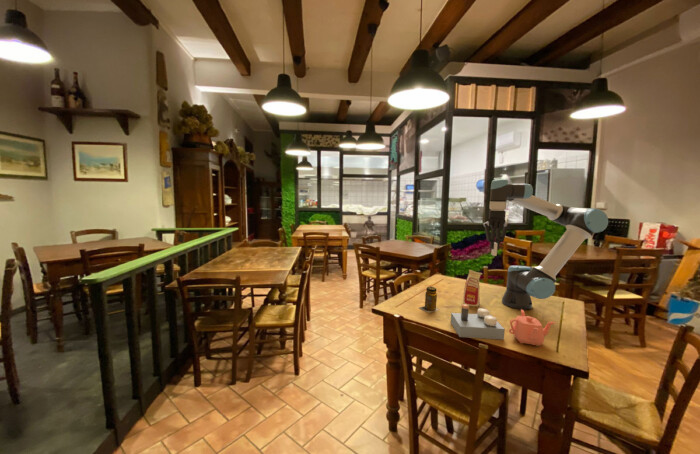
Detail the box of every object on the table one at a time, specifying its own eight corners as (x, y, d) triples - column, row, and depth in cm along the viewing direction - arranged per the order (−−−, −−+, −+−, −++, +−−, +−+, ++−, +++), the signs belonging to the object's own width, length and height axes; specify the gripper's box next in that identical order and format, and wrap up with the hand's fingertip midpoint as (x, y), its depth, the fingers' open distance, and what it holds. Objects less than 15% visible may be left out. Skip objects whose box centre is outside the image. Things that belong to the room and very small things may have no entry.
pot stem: (466, 318, 129) (467, 304, 128) (469, 321, 125) (470, 307, 124) (459, 317, 129) (460, 303, 128) (461, 321, 126) (462, 306, 125)
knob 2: (492, 331, 125) (493, 315, 124) (497, 337, 120) (498, 320, 119) (481, 330, 126) (482, 315, 125) (485, 336, 121) (487, 320, 120)
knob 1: (485, 323, 133) (486, 308, 132) (489, 328, 128) (491, 313, 127) (474, 322, 134) (476, 308, 133) (478, 327, 129) (480, 312, 128)
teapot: (519, 329, 129) (521, 307, 128) (553, 344, 117) (556, 320, 115) (500, 336, 122) (503, 313, 121) (534, 353, 110) (537, 327, 108)
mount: (490, 324, 134) (490, 314, 133) (503, 339, 120) (504, 328, 119) (450, 322, 135) (451, 312, 134) (459, 337, 121) (460, 326, 121)
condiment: (439, 309, 150) (440, 288, 148) (429, 313, 145) (430, 291, 144) (428, 305, 156) (430, 285, 154) (418, 308, 151) (419, 287, 150)
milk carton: (463, 304, 158) (465, 271, 155) (463, 299, 166) (465, 267, 164) (480, 307, 154) (483, 273, 152) (479, 301, 163) (482, 269, 160)
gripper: (506, 209, 142) (503, 253, 145) (481, 209, 143) (478, 253, 146) (514, 210, 135) (510, 257, 138) (487, 210, 136) (484, 256, 139)
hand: (493, 255), depth 142 cm, fingers closed
